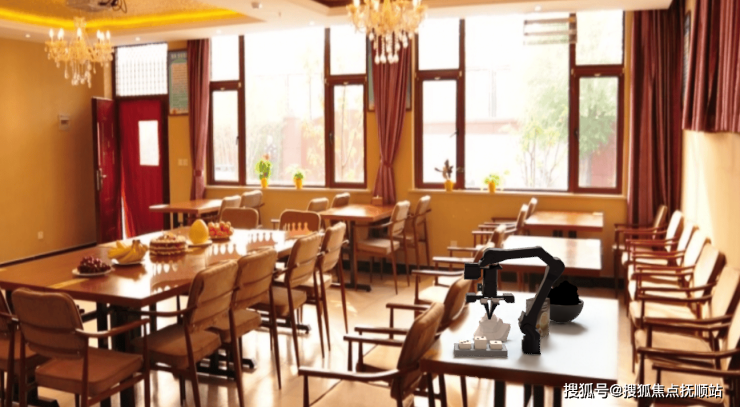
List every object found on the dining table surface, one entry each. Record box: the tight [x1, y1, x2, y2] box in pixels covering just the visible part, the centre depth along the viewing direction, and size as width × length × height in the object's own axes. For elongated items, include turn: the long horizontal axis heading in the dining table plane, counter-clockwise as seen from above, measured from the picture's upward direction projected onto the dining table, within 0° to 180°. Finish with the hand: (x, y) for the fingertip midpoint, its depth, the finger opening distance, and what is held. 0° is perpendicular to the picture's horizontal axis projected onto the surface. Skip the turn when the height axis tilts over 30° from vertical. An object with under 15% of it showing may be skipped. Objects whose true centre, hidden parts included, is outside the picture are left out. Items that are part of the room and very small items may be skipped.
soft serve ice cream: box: [473, 308, 511, 343], centre depth 278 cm, size 12×15×14 cm
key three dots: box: [458, 339, 472, 349], centre depth 263 cm, size 4×4×4 cm
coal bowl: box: [547, 279, 585, 324], centre depth 304 cm, size 20×20×19 cm
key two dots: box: [473, 335, 487, 349], centre depth 262 cm, size 4×4×4 cm
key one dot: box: [490, 341, 503, 349], centre depth 262 cm, size 4×4×4 cm
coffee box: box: [525, 297, 551, 339], centre depth 283 cm, size 9×6×16 cm
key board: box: [453, 342, 509, 358], centre depth 262 cm, size 20×9×2 cm, turn 86°
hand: (489, 319), depth 263 cm, fingers closed
